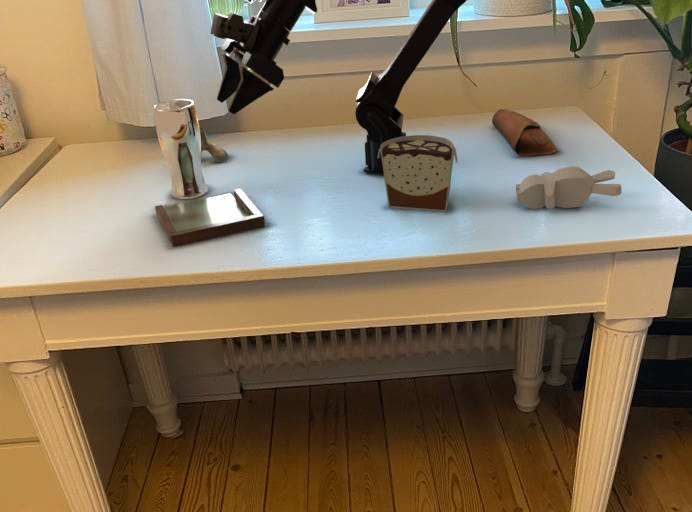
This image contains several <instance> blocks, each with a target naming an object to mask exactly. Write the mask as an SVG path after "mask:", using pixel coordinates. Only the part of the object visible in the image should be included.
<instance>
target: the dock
mask: <svg viewBox="0 0 692 512" xmlns="http://www.w3.org/2000/svg"><path fill="white" fill-rule="evenodd" d="M233 194H234V195H233ZM233 194H232V193H231V192H230V193H224V194H220V195H215V196H210V197H205V198H200V199H195V200H191V201H185V202H182V203H176V204H171V205H167V206H163V204H158V205H155V206H154V210H155V214H156V218H157V219H158V221H159V223H160V225H161V227H162V229H163V230H164V232H165V234H166V237H167V238H168V240H169V242H170V244H171V246H172V248H176V247H181V246H185V245H189V244H193V243H198V242H199V243H200V242H203V241H207V240H212V239H216V238H221V237H226V236H230V235H235V234H238V233H239V234H240V233H243V232H247V231H252V230H256V229H261V228H265V227H266V221H265V215H264V214H263V213H262V211H260V210H259V208H258V207H257V206H256V205H255V204H254V202H253V201H252V200H251V199H250V198H249V196H247V194H246V193H245V192H244V191H243V190H242V188H236V189H233Z"/></svg>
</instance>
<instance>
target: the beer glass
mask: <svg viewBox="0 0 692 512" xmlns="http://www.w3.org/2000/svg"><path fill="white" fill-rule="evenodd" d="M152 109H153V115H154V116H153V117H154V124H155V125H154V126H155V130H156V135H157V140H158V143H159V146H160V149H161V152H162V154H163V156H164V159H165V162H166V164H167V167H168V170H169V173H170V178H171V195H172V197H174V198H175V199H179V200H191V199H196V198H199V197H200V198H201V197H202V196H204V195H206V194H207V193H208V191H209V190H208V185H207V183H206V180H205V177H204V173H203V167H202V153H201V135H200V128H199V127H200V123H199V119H198V115H197V111H196V107H195V103H194V101H193V100H191V99H187V98H176V99H168V100H163V101H159V102H158V103H156V104H154V105H153V106H152Z"/></svg>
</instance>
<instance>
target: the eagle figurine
mask: <svg viewBox="0 0 692 512" xmlns="http://www.w3.org/2000/svg"><path fill="white" fill-rule="evenodd" d="M199 128H200V135H201V154H202V152H203V151H206V152H208V153H209V154H210V155H211V157H212V159H213V161H214V162H216V163H225V162H227V161H228V159H229V154H228V152H227V151H226V150H225V149H224V148H223V147H221V146H220V145H218V144H216V143H213V142H211V141H210V140H208V136H207V133H206V132H205V129H204V128H203V127H202V126H199Z"/></svg>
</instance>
